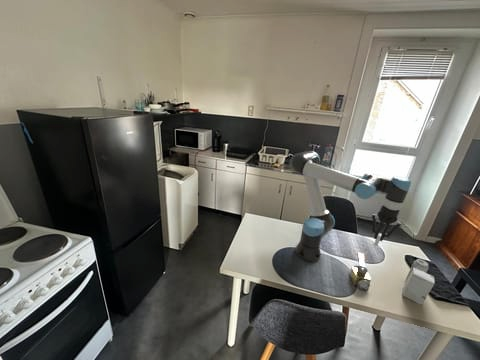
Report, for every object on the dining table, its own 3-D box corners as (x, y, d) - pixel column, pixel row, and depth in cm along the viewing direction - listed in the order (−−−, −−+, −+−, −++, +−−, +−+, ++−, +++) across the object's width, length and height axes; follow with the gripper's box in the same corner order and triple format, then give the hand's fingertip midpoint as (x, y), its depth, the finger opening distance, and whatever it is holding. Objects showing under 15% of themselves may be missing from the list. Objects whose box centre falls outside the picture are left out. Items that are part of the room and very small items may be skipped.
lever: (366, 276, 106) (368, 273, 106) (357, 273, 108) (358, 270, 107) (364, 257, 120) (365, 254, 119) (355, 254, 121) (356, 251, 120)
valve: (370, 292, 105) (374, 283, 103) (356, 289, 106) (359, 280, 104) (360, 272, 117) (363, 264, 115) (348, 270, 118) (350, 262, 115)
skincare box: (401, 295, 104) (412, 273, 99) (402, 287, 108) (412, 266, 103) (422, 305, 99) (435, 283, 94) (422, 297, 103) (434, 275, 98)
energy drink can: (414, 289, 108) (425, 268, 102) (402, 280, 113) (412, 259, 107) (421, 286, 110) (432, 264, 104) (409, 277, 115) (419, 256, 109)
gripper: (407, 208, 101) (390, 246, 110) (376, 199, 108) (363, 235, 117) (407, 214, 96) (389, 253, 105) (375, 205, 102) (361, 242, 112)
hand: (375, 244), depth 111 cm, fingers closed
